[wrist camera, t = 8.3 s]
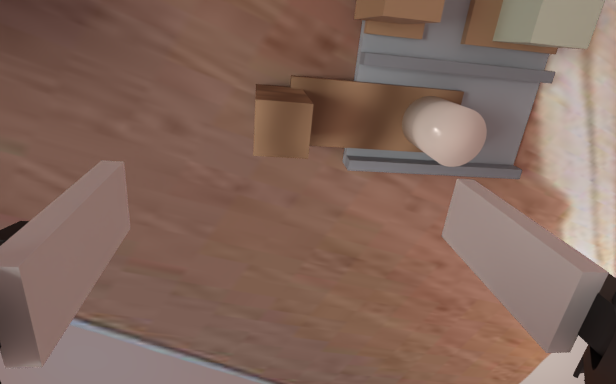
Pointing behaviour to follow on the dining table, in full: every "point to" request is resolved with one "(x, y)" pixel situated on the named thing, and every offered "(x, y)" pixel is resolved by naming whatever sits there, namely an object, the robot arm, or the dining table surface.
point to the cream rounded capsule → (444, 130)
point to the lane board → (450, 76)
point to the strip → (335, 115)
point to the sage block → (548, 22)
